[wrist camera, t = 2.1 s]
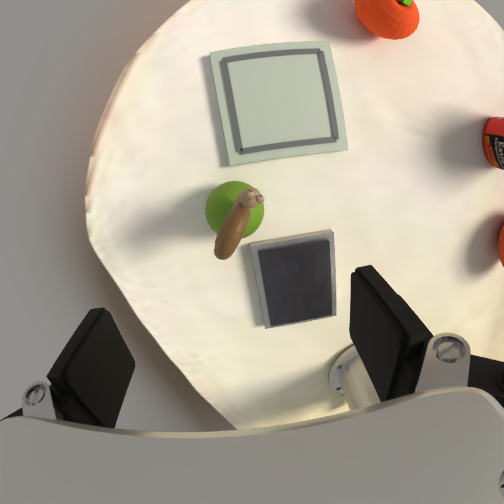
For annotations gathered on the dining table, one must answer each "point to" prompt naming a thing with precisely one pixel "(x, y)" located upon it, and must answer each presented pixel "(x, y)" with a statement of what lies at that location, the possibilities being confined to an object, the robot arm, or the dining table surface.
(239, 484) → the robot arm
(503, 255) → the tomato
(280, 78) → the board
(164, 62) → the dining table surface
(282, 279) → the ink pad
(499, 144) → the canned food
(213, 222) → the snail figurine
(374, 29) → the clementine
